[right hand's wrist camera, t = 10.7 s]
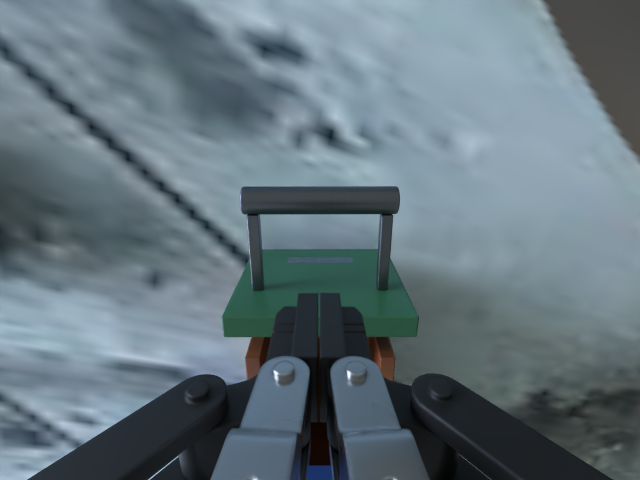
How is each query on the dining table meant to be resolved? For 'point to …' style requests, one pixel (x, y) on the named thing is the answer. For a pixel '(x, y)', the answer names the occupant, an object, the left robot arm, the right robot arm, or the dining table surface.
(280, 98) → the dining table surface
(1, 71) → the dining table surface
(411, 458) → the right robot arm
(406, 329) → the drawer
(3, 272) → the dining table surface
